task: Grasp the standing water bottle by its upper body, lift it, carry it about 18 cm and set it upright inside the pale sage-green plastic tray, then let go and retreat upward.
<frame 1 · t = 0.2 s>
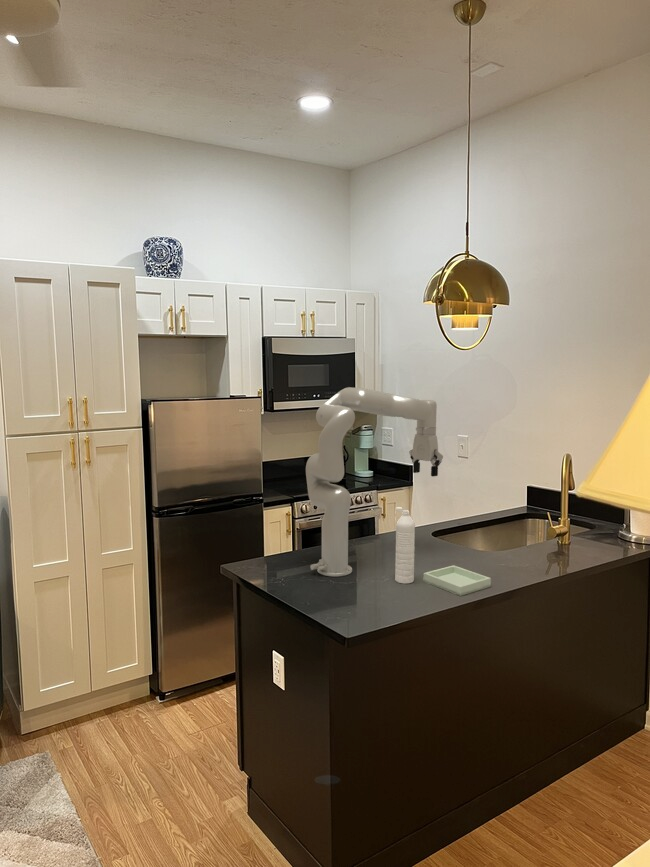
hand: (425, 474, 258), 31 cm above the countertop, fingers open, 9 cm apart
tray: (456, 584, 223), on the countertop
water bottle: (402, 580, 227), on the countertop
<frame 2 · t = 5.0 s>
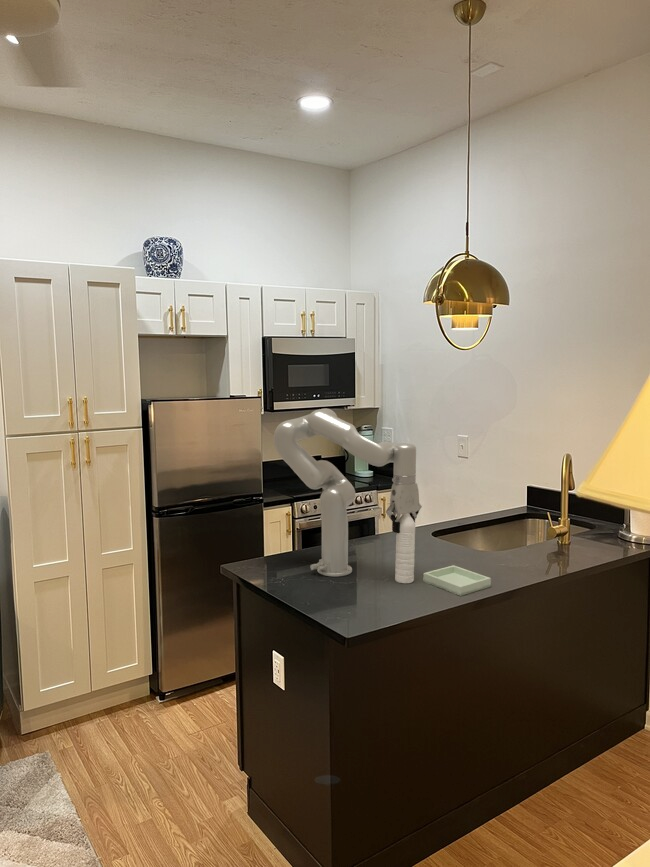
hand: (403, 530, 225), 18 cm above the countertop, fingers closed on water bottle, 6 cm apart
water bottle: (402, 580, 227), on the countertop, touching gripper
when the fingers open (20 cm above the countertop, at t = 11.7 s): water bottle drops 1 cm, resting on tray.
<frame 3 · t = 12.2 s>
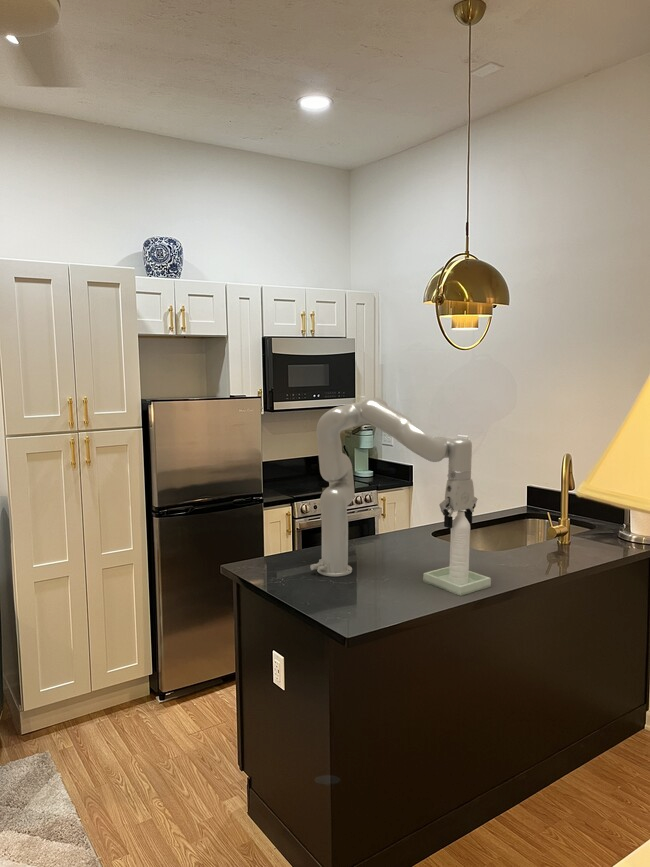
hand: (458, 525, 220), 21 cm above the countertop, fingers open, 9 cm apart
water bottle: (456, 582, 223), point 1 cm above the countertop, touching tray
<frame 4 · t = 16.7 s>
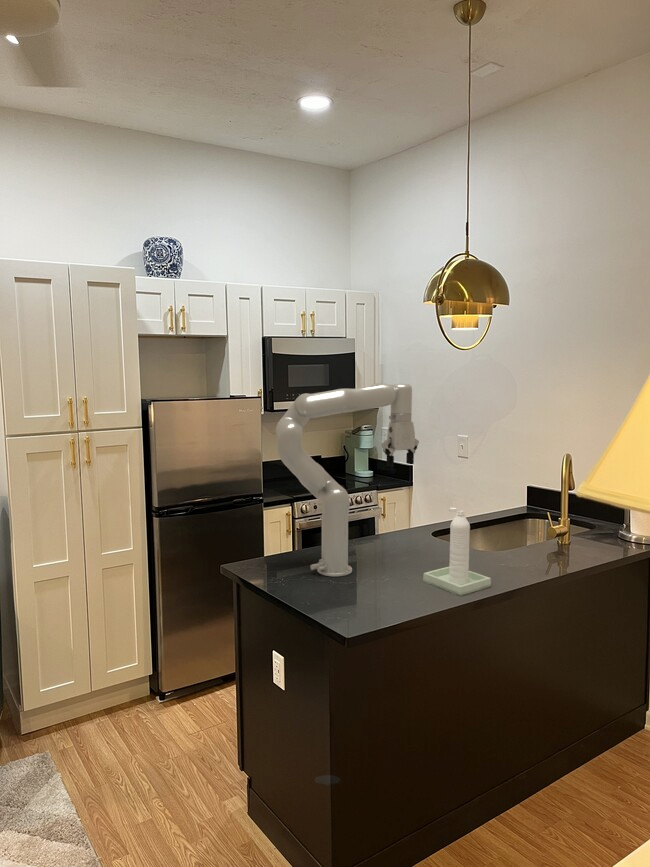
hand: (400, 465, 236), 38 cm above the countertop, fingers open, 9 cm apart
nothing on the countertop moved.
at the end: water bottle inside the target area on the tray (0.3 cm from its centre), point 0.6 cm above the tray's base; water bottle tilted 0°; the gripper is holding nothing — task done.
